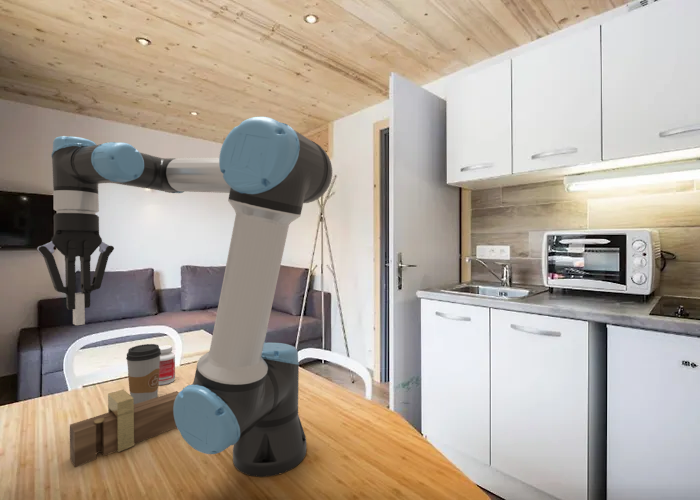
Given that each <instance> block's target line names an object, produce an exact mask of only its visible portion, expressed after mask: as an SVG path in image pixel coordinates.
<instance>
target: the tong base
mask: <svg viewBox="0 0 700 500" xmlns="http://www.w3.org/2000/svg"><path fill="white" fill-rule="evenodd" d="M179 392H180V391H177V390H176V391H173V392H170V393H166V394H163V395H159V396H157V397H156V398H153V399H150V400H147V401H144V402H140V403H137V404H134V409H135V408H138V407H141V406H144V405H147V404H150V403H153V402H156V401H159V400H162V399H166V398H169V397H172V396H175V395H178V393H179ZM113 415H115V414H114V413H113V412H108V411H107V412H106V413H103V414H98V415H95V416H92V417H90V418H87V419H84V420H80V421H77V422H74V423H70V424H69V458H70V461H71V463H72V464H73V466H74V468H77V467H79V466H82V465H84V464H87V463H89V462H93V461H94V460H97V454H98V453H101V423H102V422H104V421H105V419H104V418H107V417H110V416H113Z"/></svg>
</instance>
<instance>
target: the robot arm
mask: <svg viewBox="0 0 700 500" xmlns="http://www.w3.org/2000/svg"><path fill="white" fill-rule="evenodd" d="M51 161H52V163H51V164H52V165H51V167H52V186H53V187H52V188H53V210H54V211H56V213H54V214H53V234H52V236H51V238H50V242H47V243H45V244H43V245H39V246H37V247H36V251H37V252H38V253H39V254H40V255H41V256H42V257H43V259H44V261H45V265H46V268H47V271H48V273H49V277H50V280H51V282H52V286H53V288H54V290H55V292H58V293H60V294H61V293H63V294H65V296H66V298H65V299H66V300H65V301H66V303H65V305H66V309H67V310H70V311H71V310H72V324H73V325H74V326H81V325H86V318H85V317H86V314H85V313H86V311H85V309H86V308H87V309H88V308H90V306H91V293H92V292H94V291H95V290H99V289H101V286H102V283H103V279H104V277H105V271H106V269H107V265H108V259H109V256H110V255H111V254H112V252H113V251H114V249H115V248H114V246H113V245H109V244H107V243H105V242H104V241H103V238H102V237H101V235H100V217H99V216H98V214H97V213H99V211H100V208H99V207H100V206H99V205H100V204H99V202H100V201H99V184H117V185H122V186H123V185H124V186H128V187H135V188H142V189H148V190H149V189H150V190H154V191H160V192H165V193H169V194H182V193H184V192H190V193H191V192H192V193H217V194H218V193H219V194H220V193H222V194H223V193H225V194H229V195H228V202H229V204H230V205H231V206H232V208H233V210H234V212H235V216H234V220H233V221H234V222H233V227H232V233H231V238H230V244H229V247H228V248H229V249H228V254H227V260H226V264H225V270H224V275H223V280H222V285H221V290H220V293H219V294H220V295H219V300H218V305H217V311H216V314H215V315H216V316H215V320H214V327H213V331H212V336H211V342H210V347H209V351H208V352H206V353H204V354H203V355H202V356H200V357H199V359H198V361H197V363H196V368H195V374H194V380H193V382H192V384H188V385H186V386H184V387H183V388H182V389H181V391H178V392H179V393H178V395H177V396H176V398H175V401H174V406H173V414H174V420H175V423H176V426H177V427H176V428H177V430H178V431H179V433H180V435H181V437H182V438H183V440H184V441H185V442H186V443H187V444H188V446H189V447H191V448H193V449H194V450H195V451H197V452H200V453H202V454H204V455H205V454H206V455H216V454H219V453H222V452H224V451H225V450H227V449H228V448H230V447H231V446H233V448H232V462H233V465H234V467H235V468H236V469H237V470H238V471H239V472H241V473H243V474H244V475H246V476H247V475H248V476H252V477H257V478H258V477H259V478H260V477H262V478H264V477H272V476H273V477H274V476H277V475H281V474H284V473H287V472H288V471H291V470H293V469H294V468H296V467H297V466H298V465H299V464H300V463H301V462H302V461H303V460H304V458H305V457H306V455H307V436H306V433H305V430H304V428H303V424H302V421H301V419H300V415H299V380H300V379H299V376H300V375H299V373H300V372H299V370H300V369H299V366H300V362H299V352H298V350H297V348H296V347H295V346H293V345H291V344H288V343H281V342H266V341H265V340H266V337H267V333H268V332H267V331H268V327H269V322H270V317H271V313H272V306H273V303H274V298H275V293H276V288H277V284H278V279H279V275H280V269H281V266H282V265H281V264H282V261H283V256H284V250H285V246H286V243H287V242H286V240H287V236H288V233H289V232H288V231H289V227H290V224H292V222H294V221H295V220H297V219H299V218H300V217H301V214H302V211H303V205H304V204H309V203H312V202H316V201H317V200H319V199H320V198H321V197H322V196H324V194H326V192H327V191H328V189H329V188H330V185H331V182H332V178H333V165H332V162H331V158H330V157H329V155H328V153H327V152H326V150H325V149H324V148H322V147H321V145H319V144H318V143H316V142H315V141H313V140H311V139H310V138H307V137H306V136H305V135H303V134H301V133H300V132H298V131H296V130H294V128H293V127H291V126H290V125H288V124H287V123H284V122H281V121H278V120H276V119H274V118H271V117H268V116H253V117H250V118H247V119H245V120H243V121H241V122H240V124H239V125H237V126H234V127H233V128H232V129H231V130H230V132H229V133H228V134H227V135H226V137H225V139H224V140H223V143H222V145H221V148H220V152H219V157H177V158H169V157H167V158H164V157H159V156H156V155H155V156H154V155H151V154H147V153H143V152H140V151H139V150H138V149H136V148H135V147H134V146H133V145H132V144H130V143H127V142H115V141H110V142H109V141H108V142H105V143H101V144H96V143H95V141H92V140H90V139H87V138H84V137H79V136H70V135H69V136H66V135H63V136H62V135H61V136H57V137H55V138H54V139H53V141H52V152H51ZM54 247H55V248H56V250H58V251H59V252H60V254H62V255H63V257H64V264H65V265H64V266H65V268H64V269H65V272H64V273H65V286H64V282H63V280H62V276H61V274H60V271H59V268H58V265H57V262H56V259H55V257H54V255H53V254H54V253H55V249H54ZM98 247H99V249H98ZM97 249H98V252H99V255H98V257H97V262H96V265H95V269H94V274H93V277H92V280H91V259H92V258H91V257H92V256H91V255H93V254H94V252H96V250H97ZM76 257H79V262H80V263H79V264H80V267H79V268H80V290H81V292H77V291H76V285H77V284H76V261H77V258H76Z"/></svg>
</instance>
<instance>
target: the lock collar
mask: <svg viewBox="0 0 700 500" xmlns="http://www.w3.org/2000/svg"><path fill="white" fill-rule="evenodd" d="M107 409H108V411H107V413H108V412H113V413H114V414H115V415H116V416H117V451H116V452H117V453H120V452H122V451H125V450H127V449H130V448H133V447H134V446H135V444H134V398H133V397H132V396H131V395H130V393H128V392H127V391H126V390H125V389H124V388H123V389H120V390H115V391H113V392H110V393H107Z"/></svg>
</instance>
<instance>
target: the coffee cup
mask: <svg viewBox="0 0 700 500" xmlns="http://www.w3.org/2000/svg"><path fill="white" fill-rule="evenodd" d="M159 346H160V345H159V344H155V343H146V344H140V345H139V344H138V345H135V346H132V347H130V348H128V350H127V353H126V357H125V358H126V359H125V360H126V362H127V372H128V374H127V378H128V388H129V390H128V391H129V395H131V396H132V397H133V398H134V404H137V403H140V402H144V401H147V400H150V399H153V398H156V397H158V393H159V386H160V385H159V370H160V369H159V364H160V355H161V352H160V348H159Z"/></svg>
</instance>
